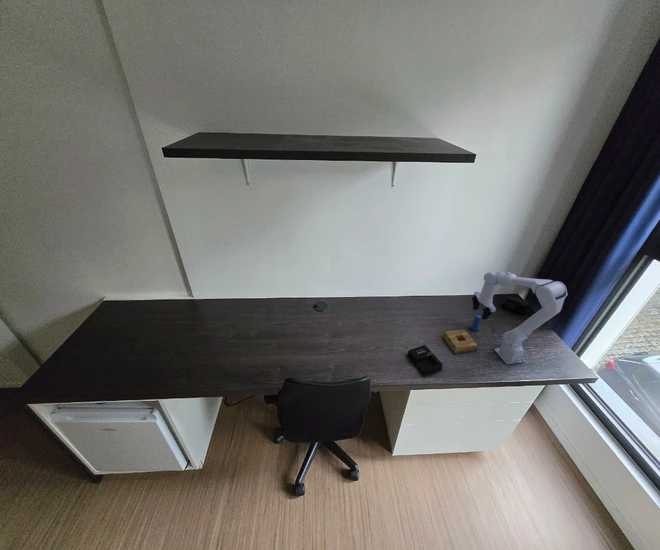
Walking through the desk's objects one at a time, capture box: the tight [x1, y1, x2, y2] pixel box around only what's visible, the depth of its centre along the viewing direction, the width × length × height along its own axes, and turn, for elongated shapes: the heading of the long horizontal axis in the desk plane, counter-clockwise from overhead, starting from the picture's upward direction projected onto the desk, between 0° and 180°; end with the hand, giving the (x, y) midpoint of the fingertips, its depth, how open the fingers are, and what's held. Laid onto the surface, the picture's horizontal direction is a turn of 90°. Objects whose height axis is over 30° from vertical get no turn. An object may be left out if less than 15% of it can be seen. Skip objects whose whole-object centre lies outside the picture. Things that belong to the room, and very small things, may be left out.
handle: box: [470, 314, 482, 332], centre depth 153 cm, size 3×3×9 cm
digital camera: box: [503, 295, 530, 315], centre depth 168 cm, size 10×5×7 cm, turn 55°
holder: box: [442, 328, 478, 354], centre depth 145 cm, size 11×11×4 cm
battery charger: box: [407, 344, 444, 377], centre depth 134 cm, size 13×10×4 cm
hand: (479, 314), depth 150 cm, fingers open, 7 cm apart
